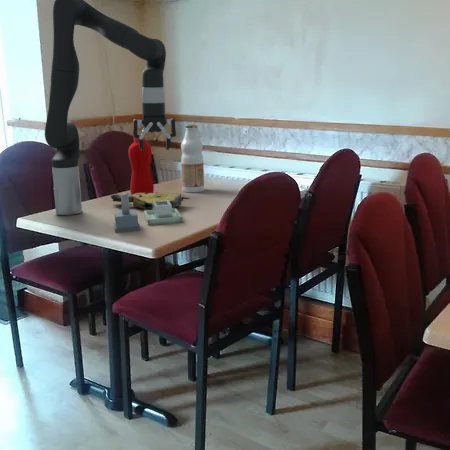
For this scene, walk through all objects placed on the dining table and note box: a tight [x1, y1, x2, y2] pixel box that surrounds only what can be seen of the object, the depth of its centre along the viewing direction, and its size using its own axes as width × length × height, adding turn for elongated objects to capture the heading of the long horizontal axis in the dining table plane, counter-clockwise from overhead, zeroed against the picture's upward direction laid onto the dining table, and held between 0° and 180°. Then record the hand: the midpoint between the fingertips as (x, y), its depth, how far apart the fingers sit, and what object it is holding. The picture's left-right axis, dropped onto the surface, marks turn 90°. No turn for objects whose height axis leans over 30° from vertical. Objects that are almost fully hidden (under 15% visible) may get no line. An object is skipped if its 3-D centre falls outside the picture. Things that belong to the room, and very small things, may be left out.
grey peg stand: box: [113, 192, 141, 233], centre depth 187 cm, size 8×8×12 cm
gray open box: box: [152, 200, 173, 219], centre depth 199 cm, size 6×8×5 cm
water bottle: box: [127, 133, 157, 196], centre depth 237 cm, size 9×11×25 cm
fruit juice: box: [180, 124, 205, 194], centre depth 243 cm, size 9×9×28 cm
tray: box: [143, 207, 183, 226], centre depth 199 cm, size 12×14×2 cm
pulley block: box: [110, 192, 190, 211], centre depth 217 cm, size 14×6×30 cm
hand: (155, 149), depth 195 cm, fingers open, 8 cm apart
